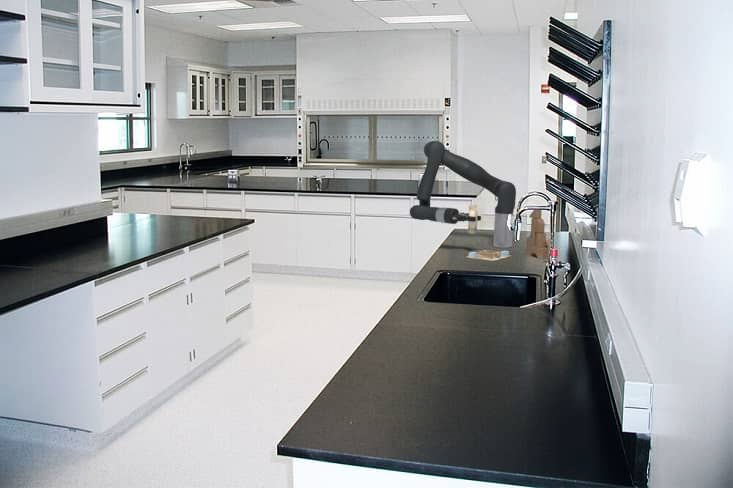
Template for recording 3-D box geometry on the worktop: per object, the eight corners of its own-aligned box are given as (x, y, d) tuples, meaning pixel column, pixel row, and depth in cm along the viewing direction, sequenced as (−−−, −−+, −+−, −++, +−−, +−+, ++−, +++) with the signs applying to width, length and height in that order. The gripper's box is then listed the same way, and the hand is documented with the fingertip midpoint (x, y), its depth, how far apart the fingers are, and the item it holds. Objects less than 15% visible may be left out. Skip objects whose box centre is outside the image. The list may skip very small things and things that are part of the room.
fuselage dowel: (470, 232, 337) (471, 204, 335) (478, 233, 334) (479, 205, 332) (466, 233, 334) (467, 205, 332) (473, 233, 331) (474, 206, 329)
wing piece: (504, 254, 332) (504, 250, 332) (509, 255, 330) (509, 251, 330) (497, 256, 327) (498, 252, 327) (502, 257, 326) (502, 252, 326)
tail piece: (473, 256, 328) (473, 251, 327) (477, 256, 326) (478, 252, 326) (468, 257, 325) (468, 252, 324) (473, 257, 323) (473, 253, 323)
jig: (485, 254, 339) (485, 247, 338) (511, 258, 330) (512, 250, 330) (465, 259, 325) (465, 251, 325) (492, 263, 317) (492, 255, 316)
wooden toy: (554, 261, 323) (557, 207, 319) (541, 262, 321) (545, 207, 317) (535, 255, 337) (538, 203, 333) (523, 256, 335) (525, 203, 331)
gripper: (439, 208, 336) (470, 212, 325) (455, 206, 347) (486, 209, 336) (438, 224, 337) (469, 228, 326) (455, 221, 348) (485, 225, 337)
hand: (478, 218), depth 331 cm, fingers closed on fuselage dowel, 4 cm apart
